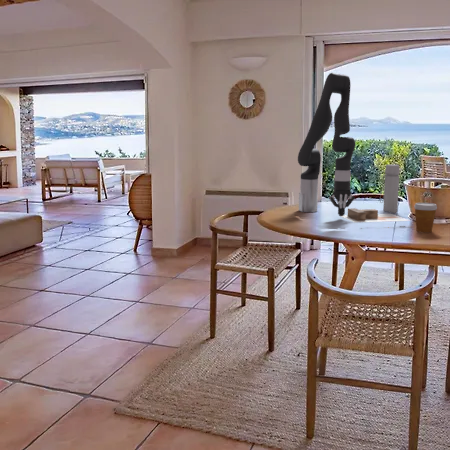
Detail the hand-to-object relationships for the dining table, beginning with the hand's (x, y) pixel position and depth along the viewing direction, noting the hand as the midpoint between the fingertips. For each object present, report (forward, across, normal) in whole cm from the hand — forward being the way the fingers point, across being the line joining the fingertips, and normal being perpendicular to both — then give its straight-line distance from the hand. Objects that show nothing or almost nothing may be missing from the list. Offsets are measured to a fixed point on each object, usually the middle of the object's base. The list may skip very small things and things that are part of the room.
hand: (341, 215), depth 263 cm
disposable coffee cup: (+3, -27, +29) cm, 39 cm away
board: (+3, -17, 0) cm, 17 cm away
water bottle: (+3, -35, -21) cm, 41 cm away
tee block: (+2, -12, 0) cm, 12 cm away
